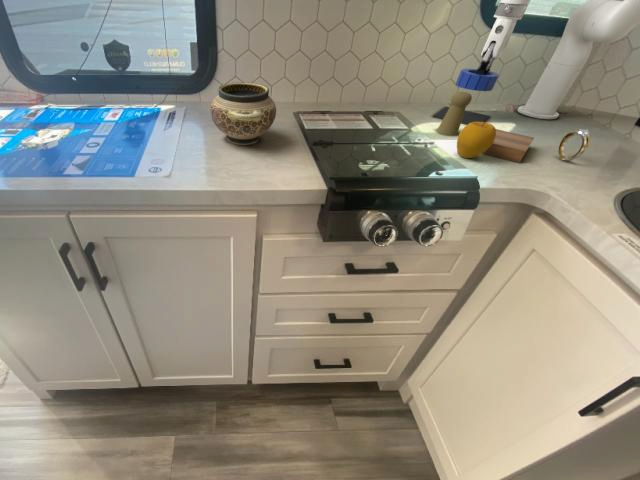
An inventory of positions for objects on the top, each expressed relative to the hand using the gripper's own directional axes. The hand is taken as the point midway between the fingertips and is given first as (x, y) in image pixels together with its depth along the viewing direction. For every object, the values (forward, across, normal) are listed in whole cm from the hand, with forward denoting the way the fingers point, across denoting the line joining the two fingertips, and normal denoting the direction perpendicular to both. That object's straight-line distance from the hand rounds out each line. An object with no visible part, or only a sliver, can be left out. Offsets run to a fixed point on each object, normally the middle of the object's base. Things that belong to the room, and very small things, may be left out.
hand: (477, 82), depth 116 cm
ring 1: (+1, -4, 0) cm, 4 cm away
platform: (+10, -28, -16) cm, 34 cm away
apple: (+10, -41, -11) cm, 44 cm away
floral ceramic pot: (+11, -74, +42) cm, 86 cm away
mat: (+10, -4, 0) cm, 11 cm away
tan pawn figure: (+10, -24, -1) cm, 26 cm away
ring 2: (+10, -24, -32) cm, 42 cm away
